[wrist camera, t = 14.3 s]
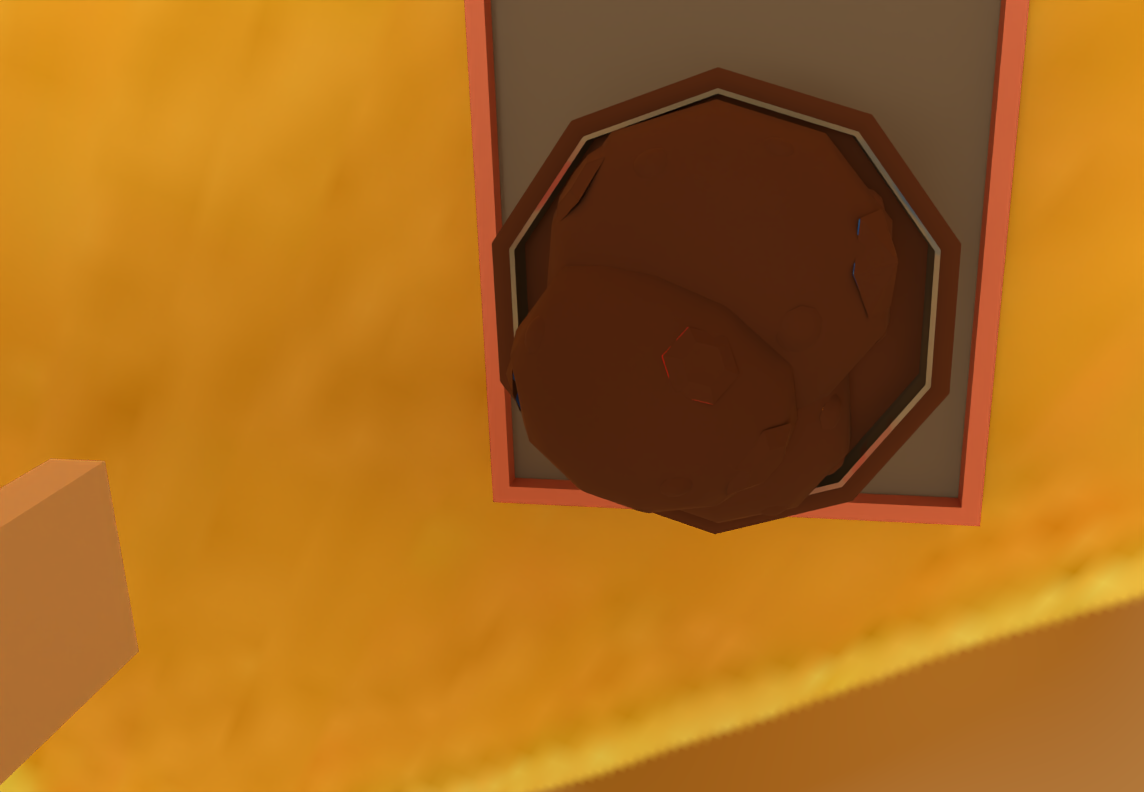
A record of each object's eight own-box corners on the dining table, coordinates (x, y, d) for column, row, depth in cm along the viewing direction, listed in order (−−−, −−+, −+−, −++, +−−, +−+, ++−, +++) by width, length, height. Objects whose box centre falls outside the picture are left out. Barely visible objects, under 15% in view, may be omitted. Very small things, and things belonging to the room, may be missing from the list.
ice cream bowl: (848, 446, 36) (879, 721, 22) (526, 338, 37) (359, 535, 23) (980, 127, 32) (1121, 212, 18) (616, 15, 33) (481, 14, 19)
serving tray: (505, 482, 39) (493, 502, 38) (477, -56, 34) (460, -61, 32) (971, 503, 36) (980, 525, 35) (1024, -83, 31) (1037, -89, 29)
